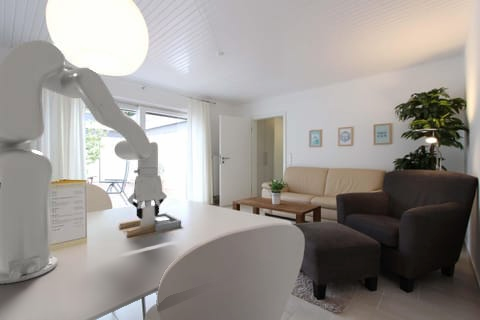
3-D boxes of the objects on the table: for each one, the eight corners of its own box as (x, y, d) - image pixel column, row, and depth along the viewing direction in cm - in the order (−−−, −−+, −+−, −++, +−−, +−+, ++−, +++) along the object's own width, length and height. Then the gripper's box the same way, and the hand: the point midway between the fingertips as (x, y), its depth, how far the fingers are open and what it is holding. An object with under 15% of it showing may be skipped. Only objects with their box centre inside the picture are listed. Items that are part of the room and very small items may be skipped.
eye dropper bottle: (140, 225, 93) (140, 196, 93) (155, 223, 95) (155, 195, 95) (140, 228, 89) (140, 197, 89) (155, 226, 91) (155, 197, 91)
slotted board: (184, 230, 91) (183, 222, 91) (130, 242, 78) (130, 233, 78) (165, 219, 107) (164, 213, 107) (117, 228, 94) (117, 220, 94)
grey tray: (181, 226, 93) (181, 220, 92) (156, 232, 86) (155, 225, 86) (166, 218, 105) (166, 213, 105) (143, 222, 98) (142, 216, 98)
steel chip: (169, 225, 94) (169, 219, 94) (157, 227, 91) (157, 221, 91) (164, 222, 99) (164, 216, 99) (153, 224, 96) (153, 218, 96)
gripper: (127, 173, 83) (127, 222, 83) (172, 171, 94) (172, 215, 94) (122, 172, 89) (122, 218, 89) (165, 170, 100) (165, 211, 100)
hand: (148, 216), depth 92 cm, fingers closed on eye dropper bottle, 5 cm apart
